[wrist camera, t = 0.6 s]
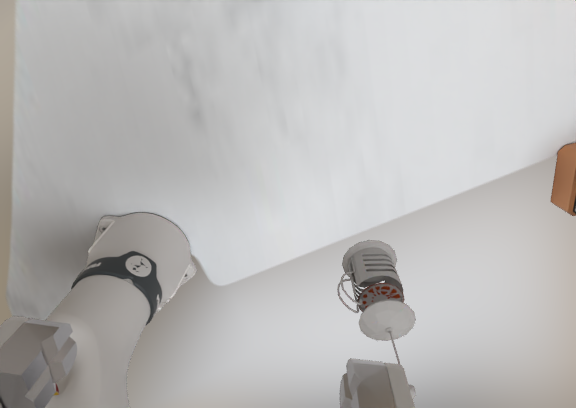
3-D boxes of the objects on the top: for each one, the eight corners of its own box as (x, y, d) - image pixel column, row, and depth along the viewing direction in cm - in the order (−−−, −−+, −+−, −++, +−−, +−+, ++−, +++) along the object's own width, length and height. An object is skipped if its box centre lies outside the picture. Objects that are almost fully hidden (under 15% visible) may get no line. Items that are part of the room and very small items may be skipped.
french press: (384, 287, 63) (429, 428, 41) (325, 274, 62) (340, 412, 40) (405, 247, 58) (470, 381, 36) (343, 232, 57) (370, 361, 35)
